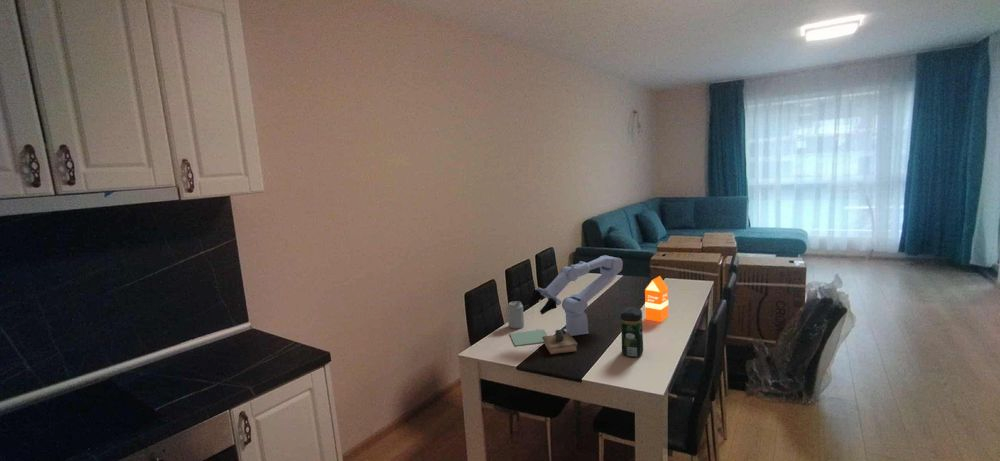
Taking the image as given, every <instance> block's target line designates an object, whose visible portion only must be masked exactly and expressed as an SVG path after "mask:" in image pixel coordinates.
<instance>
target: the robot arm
mask: <svg viewBox="0 0 1000 461" xmlns="http://www.w3.org/2000/svg"><path fill="white" fill-rule="evenodd" d="M623 264H624V262H623V259H622V258H620V257H616V256H615V257H614V256H611V255H610V256H609V255H607V254H605V255H601V256H599V257H598V258H595V259H594V260H591V261H588V262H585V261H583V260H581V261H578V263H576V264H571V265H570V266H563V267H560V269H559V273H558V274H557V276H556V277H555V278H554V279H553V280H552V282H550V283H549V284H548V285H547V286H546V288H542V287H539V286H536V287H535V288H534V290H533V292H532V296H531V298H530V299H529V302H528V303H527V305H528V306H529V308H531V307H533V306H534V305H535V304H536V303H537V302H539V301H540V300H542V299H543V297H544V298H545V299H548V300H547V301H546V302H545V304H544V306H543V307H541V309H540V311H539V312H540V314H541V315H544V314H546V313H547V312H549V311H552V310H555V309H556V308H558V306H560V305H561V308H562V309H563V311H564V313H565V323H566V324H565V328H563V332H565V334H567V333H569V334H570V335H571V336H572V337H573V336H581V335H588V334H589V320H588V316H587V313H586V312H585V310H586V309H587V308H588V302H590V301H591V299H594V298H595V296H597V295H598V294H600V292H601V291H603V290H604V289H605V288H606V287H608V286H609V285H610V284H611V283H612V282H613V281H614V280H615V278H616V276H617V275H618V274H619V273H620V272H621V271H623ZM598 268H599V270H600V272H599V273H600V276H598V277H597V278H596V279H595V280H594V281H592V282H591V283H590V284H588V285H587V286H586V287H585V288H583V289H582V290H581V291H580V292H578V293H575V294H572V295H570V296H568V297H565V298H563V300H562V301H561V299H559V298H558V297H557V296H558V295H559V294H560V293H561V292H562V291H563V290H564V289H565V288H566V287H568V285H569V283H570V282H571V281H572V282H574V281H576V280H577V279H578V278H579V277H583V276H584V275H585V276H586V275H588V274H589V272H590V271H592V270H595V269H598Z"/></svg>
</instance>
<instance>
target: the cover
mask: <svg viewBox="0 0 1000 461" xmlns="http://www.w3.org/2000/svg"><path fill="white" fill-rule="evenodd" d="M563 332H564V330H562V329H556V330H555V334H553V335H552V334H551V335H547V336H543V337H542V338H543V340H544V341H545V343H546V345H547V346H548V348H549V349H556V348H563V347H571V346H576V347H578V344H579V343H578V342H577V341H576V339H574V337H573V336H571V335H570V334H569V333H563Z"/></svg>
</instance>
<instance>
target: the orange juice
mask: <svg viewBox="0 0 1000 461" xmlns="http://www.w3.org/2000/svg"><path fill="white" fill-rule="evenodd" d="M644 297H645V298H644V308H645V320H647V321H652V322H653V321H654V322H659V323H662V322H663V321H664V320H666V319H667V318H669V287H668V286H667V284H666V283H665V281H664V280H663V278H662V277H661V275H659V276H657V277H655V278H653V279H652V280H651V281H650V282H649V284H648V285H647V286H646V288H645V289H644Z"/></svg>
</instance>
